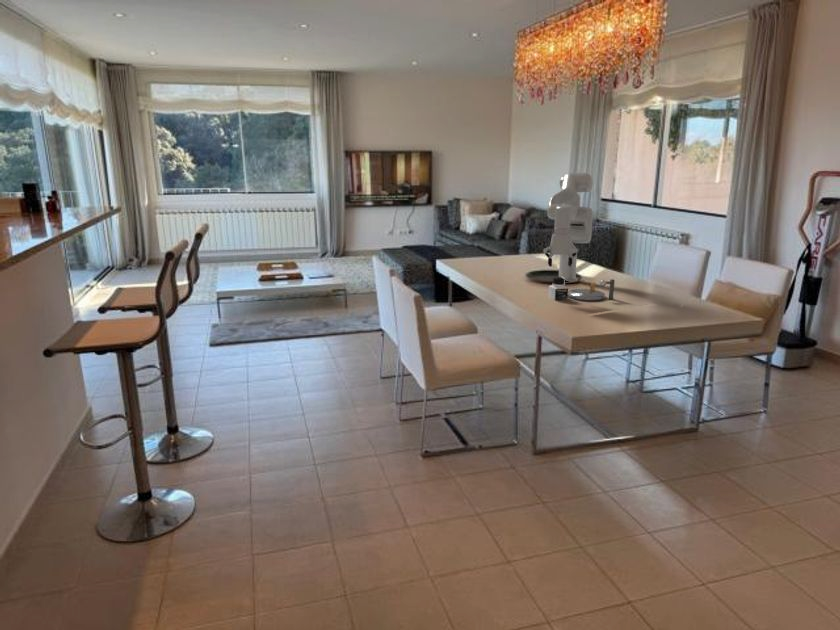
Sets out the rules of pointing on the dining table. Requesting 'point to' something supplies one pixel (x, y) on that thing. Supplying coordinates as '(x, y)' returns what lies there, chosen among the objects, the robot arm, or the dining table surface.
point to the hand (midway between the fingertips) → (559, 265)
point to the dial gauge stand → (611, 291)
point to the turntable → (586, 294)
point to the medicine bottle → (558, 289)
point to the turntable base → (590, 301)
